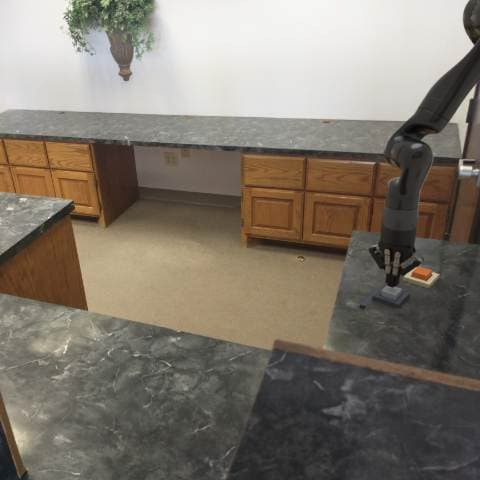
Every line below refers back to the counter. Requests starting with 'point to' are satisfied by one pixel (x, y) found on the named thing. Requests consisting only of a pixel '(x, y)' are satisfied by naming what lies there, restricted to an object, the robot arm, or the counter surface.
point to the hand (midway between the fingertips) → (391, 285)
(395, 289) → the key
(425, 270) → the key
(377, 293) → the keypad
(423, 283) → the keypad
